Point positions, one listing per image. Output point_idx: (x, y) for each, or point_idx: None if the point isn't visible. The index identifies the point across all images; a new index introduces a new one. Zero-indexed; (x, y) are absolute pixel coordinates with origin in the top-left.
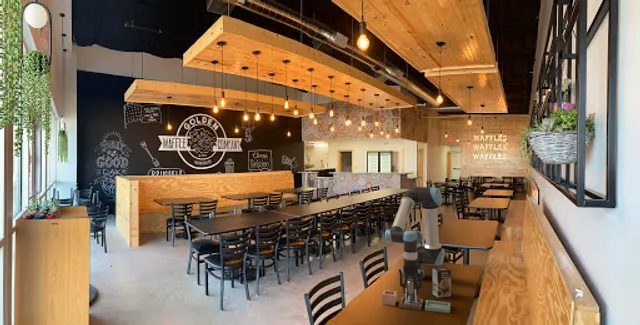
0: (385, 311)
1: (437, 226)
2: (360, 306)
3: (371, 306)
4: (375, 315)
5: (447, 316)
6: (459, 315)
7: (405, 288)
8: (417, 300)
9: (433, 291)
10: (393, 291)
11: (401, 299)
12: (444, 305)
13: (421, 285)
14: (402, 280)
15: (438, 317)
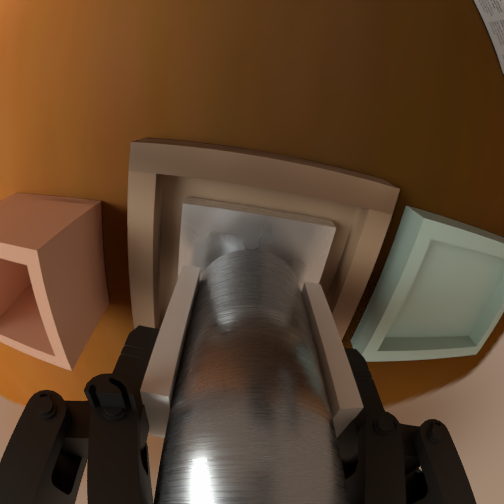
0: (86, 371)
1: None
2: None
3: None
4: (69, 398)
5: (435, 374)
6: (485, 346)
7: (155, 434)
8: (330, 229)
9: (497, 5)
10: (12, 257)
11: (136, 239)
12: (497, 257)
13: (419, 483)
14: (45, 495)
15: (388, 395)
